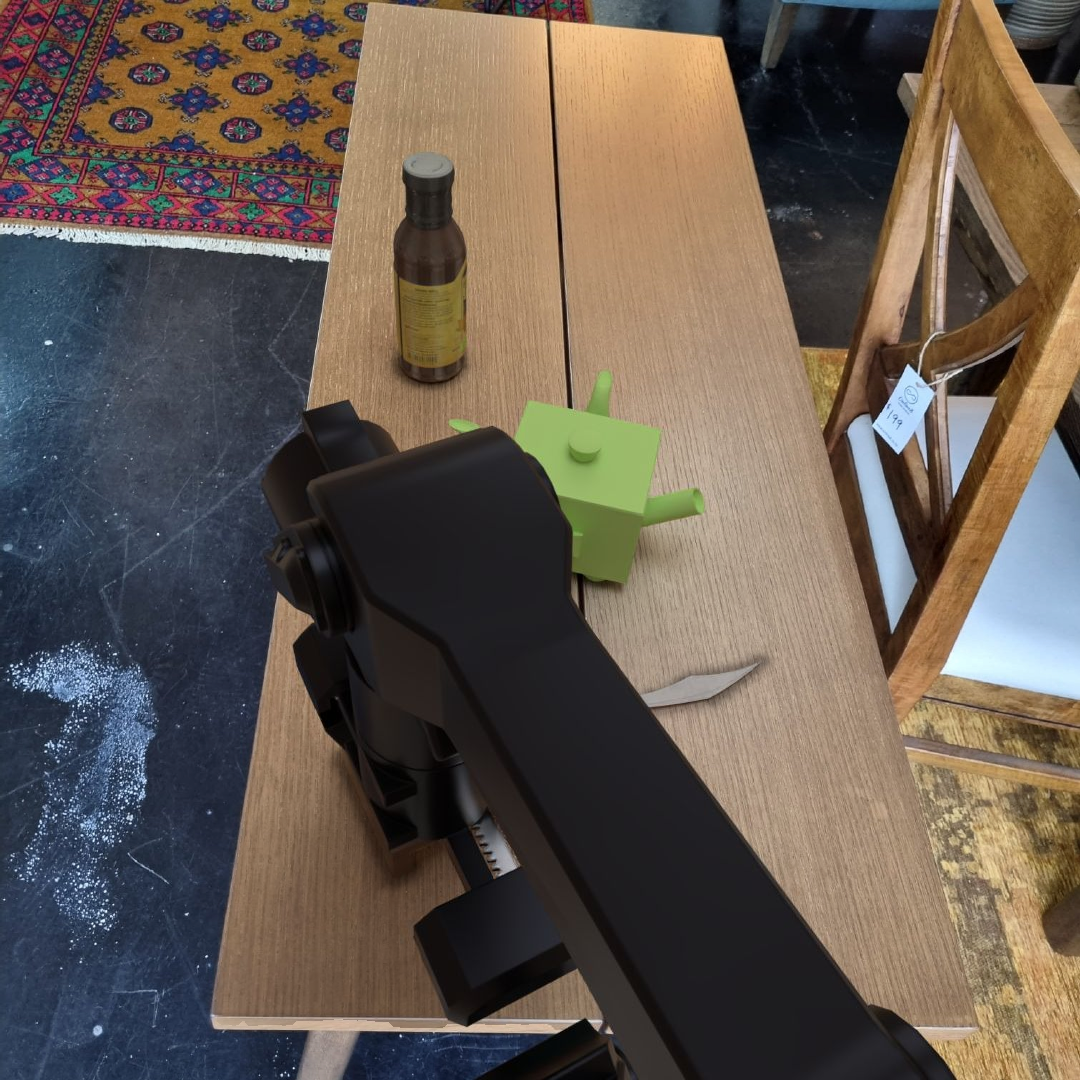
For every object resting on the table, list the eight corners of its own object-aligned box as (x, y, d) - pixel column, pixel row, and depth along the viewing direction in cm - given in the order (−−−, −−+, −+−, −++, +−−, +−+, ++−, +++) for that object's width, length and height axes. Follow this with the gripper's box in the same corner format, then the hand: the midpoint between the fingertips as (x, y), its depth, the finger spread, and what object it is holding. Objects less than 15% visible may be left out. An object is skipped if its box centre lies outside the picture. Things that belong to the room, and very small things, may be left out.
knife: (518, 733, 69) (519, 726, 68) (511, 702, 71) (511, 696, 70) (772, 689, 73) (776, 682, 72) (760, 661, 75) (764, 654, 74)
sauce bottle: (477, 373, 92) (486, 177, 77) (417, 394, 90) (414, 196, 74) (443, 333, 96) (445, 137, 80) (385, 352, 93) (375, 154, 78)
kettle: (445, 508, 82) (447, 407, 73) (585, 448, 87) (602, 348, 79) (548, 640, 74) (563, 545, 66) (693, 564, 80) (724, 468, 71)
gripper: (742, 826, 36) (663, 958, 48) (509, 473, 45) (493, 657, 58) (458, 971, 32) (450, 1075, 44) (271, 550, 42) (307, 730, 54)
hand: (429, 858), depth 50 cm, fingers open, 9 cm apart
